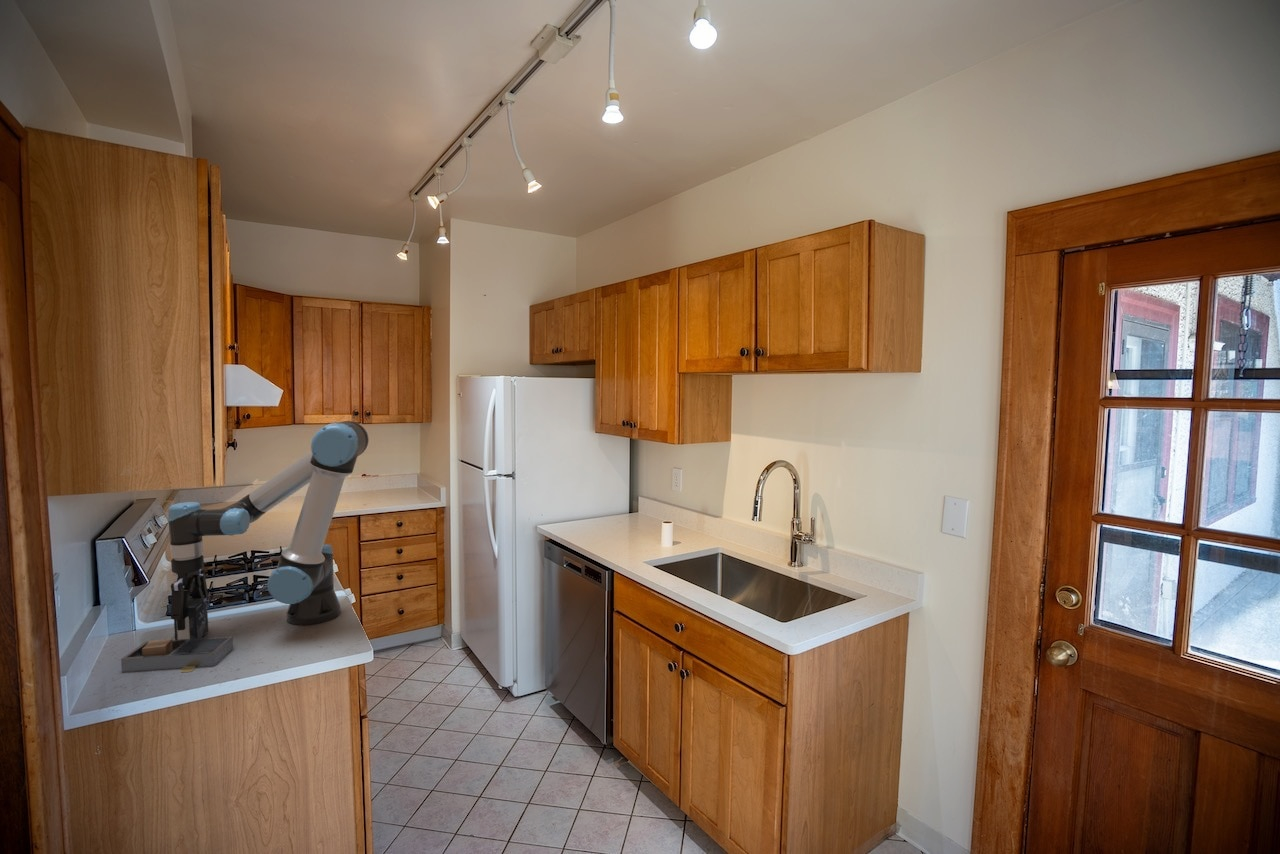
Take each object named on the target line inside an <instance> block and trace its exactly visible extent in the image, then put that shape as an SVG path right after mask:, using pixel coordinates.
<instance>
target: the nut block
mask: <svg viewBox="0 0 1280 854" xmlns="http://www.w3.org/2000/svg"><path fill="white" fill-rule="evenodd" d="M172 640H173V638H166V639H156V640H149V642H148V643H147V644H146V645H145V646H144V647H143V648H142V655H143V656H157V655H169V654H170V653H171V652H172V651H173V647H172Z"/></svg>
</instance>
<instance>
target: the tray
mask: <svg viewBox="0 0 1280 854" xmlns="http://www.w3.org/2000/svg"><path fill="white" fill-rule="evenodd" d="M149 641H150V640H149ZM149 641H145V642H143V643H141V644H140V645H139V646H137V647H136V648H135V649H133V650H132V651H130V652H129V653H128V654H126V655H124V656H123V657H122V658H121V659H120V663H121V664H120V666H121V672H122V673H129V672H143V671H144V672H145V671H146V672H147V671H158V670H159V671H160V670H173V669H174V670H175V669H180V673H192V672H193V671H194V670H195V669H196V668H205V667H216V665H218V664H219V663H220V662H221V661H222V660H223V659H224V658H225V657H226V656H227V655H229V654H230V653H231V652H232V650H234V636H219V637H217V636H216V637H215V636H214V637H202V638H198V639H181V640H175V639H172V647H173V651H172V652H171V653H170V654H169V655H157V656H143V655H142V648H143V647H144V646H145V645H146V644H147V643H148V642H149Z"/></svg>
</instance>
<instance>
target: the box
mask: <svg viewBox="0 0 1280 854" xmlns="http://www.w3.org/2000/svg"><path fill="white" fill-rule="evenodd" d="M207 601H208V600H207V598H194V599H193V598H189V603H188V610H187V616H186V617H189V631H190V639H198V638H204V636H205V635H206V634H207V633H208V632H209V619H208V618H209V616H208V604H207ZM173 628H174V640H178V635H177V620H176V619H173Z"/></svg>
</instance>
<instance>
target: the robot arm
mask: <svg viewBox="0 0 1280 854" xmlns="http://www.w3.org/2000/svg"><path fill="white" fill-rule="evenodd" d="M368 446H369V435H368V432H367V429H365V428H364V426H362V425H361V424H360V423H358V422H355V421H352V420H345V421H340V422H334V423H329V424H327V425H325V426H323V427H322V428H320V429H319V430H318V431H316V433H315V434H314V435H313V437H312V440H311V443H310V449H311V451H309V452H308V453H307V454H305V455H304V456H303V457H301V458H299V459H298V460H296V461H295V462H293V463H292V464H291V465H289V466H288V467H286V468H285V469H283V470H282V471H280V472H279V473H278V474H276V475H275V476H273V477H272V478H271V479H269V480H267V481H266V482H264V483H263V484H262V485H260V486H258V487H257V488H255V489H254V490H253V491H251V492H250V493H249V494H246V495H245V496H244V497H242V498H241V499H239V500H238V501H236V502H234V503H231V504H230V505H227V506H224V507H222V508H218V509H217V508H216V509H214V508H213V509H202V505H201V503H199V502H197V501H184V502H178V503H175V504H172V505H170V506H169V507H168V513H167V514H168V515H167V517H168V520H167V523H168V531H169V545H170V546H169V547H168V548H169V550H170V558H171V561H170V564H171V565H170V566H171V567H170V568H171V572H172V573H173V574H176V575H177V577H176V578H177V579H176V582H174V583H171V584H170V591H171V605H170V606H171V607H170V619H171V620H174V619H176V620H177V635H178V640H181V639H190V631H189V617H186V616H187V610H188V603H189V599H190V595H191V597H192V598H191V599H194V598H207V605H209V593H208V586H207V579H206V569H205V568H204V567H205V561H204V560H205V559H204V555H203V554H204V543H203V537H210V536H211V537H212V536H215V537H216V536H230V537H232V536H235V535H243V534H245V533H246V532H247V531H248V530H249V528H250V525H251V524H253V523H254V522H256V521H257V520H259V519H260V518H261V517H262V516H263V515H265V514H266V513H267V512H268V511H270V510H272V509H273V508H275V507H276V506H277V505H279V504H280V503H282V502H283V501H285V500H286V499H288V498H289V497H291V496H292V495H293V494H295V493H296V492H298V491H300V489H302V488H304V487H306V486H307V485H308V487H307V490H306V493H305V497H304V500H303V503H302V507H301V509H300V512H299V516H298V519H297V522H296V524H295V525H296V526H295V529H294V532H293V535H292V538H291V541H290V544H289V546H288V547H287V548H285V549H283V550H282V552H281V554H280V557H279V560H278V564H277V566H276V569H274V570H273V571H272V572H271V573H270V575H269V577H268V580H267V584H266V587H267V591H268V593H269V594H270V596H271V597H272V598H273V599H274V600H275V601H277V602H279V603H282V604H285V605H289V606H288V608H287V611H286V621H287V623H289V624H292V625H298V626H305V625H306V626H308V625H309V626H310V625H315V624H321V623H324V622H327V621H331V620H333V619H334V618H337V617H339V615H340V614H341V603H340V601H339V598H338V596H337V594H336V592H335V587H334V586H335V585H334V552H333V547H332V545H331V544H328V543H325V542H326V538H327V536H328V532H329V529H330V526H331V522H332V520H333V516H334V514H335V510H336V507H337V504H338V501H339V497H340V494H341V491H342V488H343V484H344V481H345V478H346V477H348V476H349V475H351V474H352V473H353V471H354V468H355V466H356V462H357V459H358V457H359V456H360V455H363V453H365V451H366V450H367V447H368ZM203 568H204V569H203Z"/></svg>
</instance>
